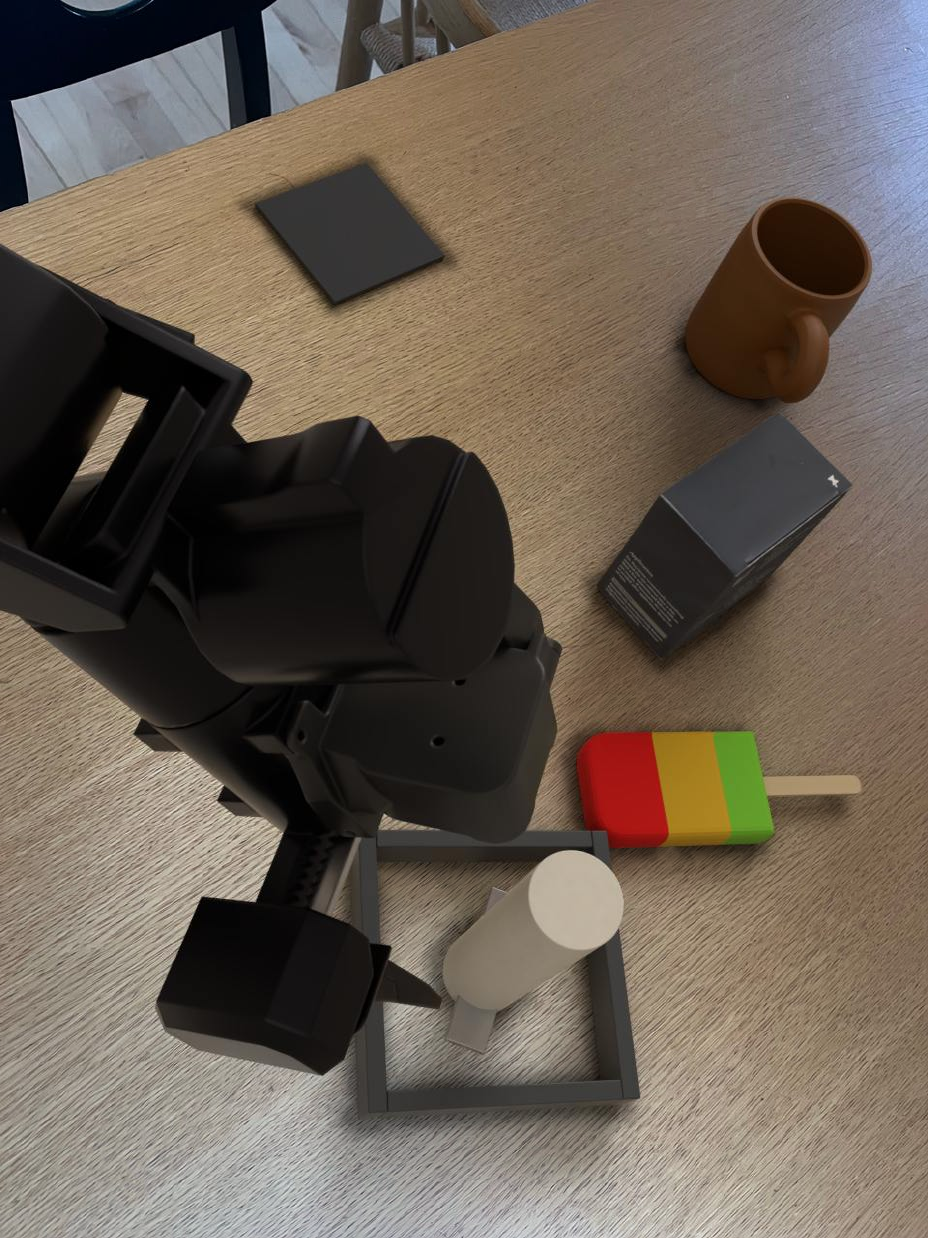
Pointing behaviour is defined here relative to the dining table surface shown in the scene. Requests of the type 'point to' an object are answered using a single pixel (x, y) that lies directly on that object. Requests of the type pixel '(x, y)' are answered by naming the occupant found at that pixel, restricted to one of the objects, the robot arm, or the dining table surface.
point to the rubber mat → (349, 232)
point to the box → (721, 533)
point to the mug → (778, 301)
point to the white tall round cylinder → (528, 940)
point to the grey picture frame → (602, 968)
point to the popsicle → (686, 788)
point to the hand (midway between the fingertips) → (469, 884)
